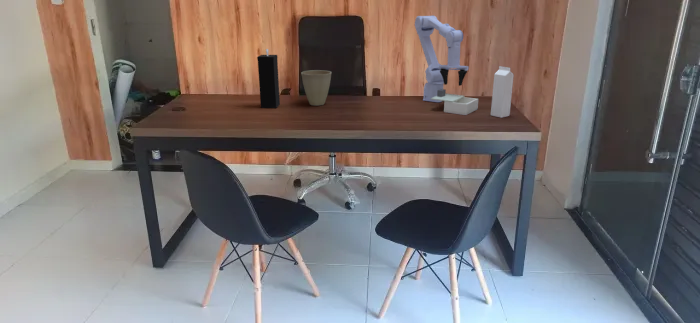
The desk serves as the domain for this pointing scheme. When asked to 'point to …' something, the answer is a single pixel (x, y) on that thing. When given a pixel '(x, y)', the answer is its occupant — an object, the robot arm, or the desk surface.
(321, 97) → the plant pot
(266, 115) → the desk surface
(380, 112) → the desk surface
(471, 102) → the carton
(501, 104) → the milk
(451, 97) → the lid
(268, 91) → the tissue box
